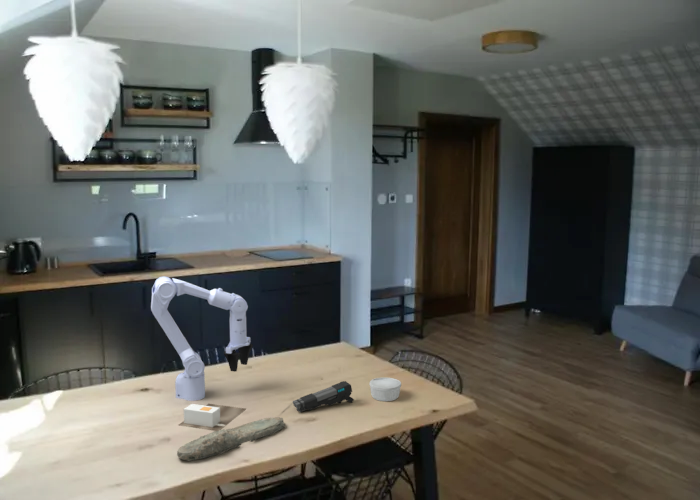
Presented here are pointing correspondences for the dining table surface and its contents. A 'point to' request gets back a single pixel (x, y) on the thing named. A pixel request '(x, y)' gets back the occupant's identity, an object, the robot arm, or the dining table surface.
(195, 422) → the block
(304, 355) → the dining table surface
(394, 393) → the ramekin
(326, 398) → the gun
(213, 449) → the long grey stone
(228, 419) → the subfloor panel
